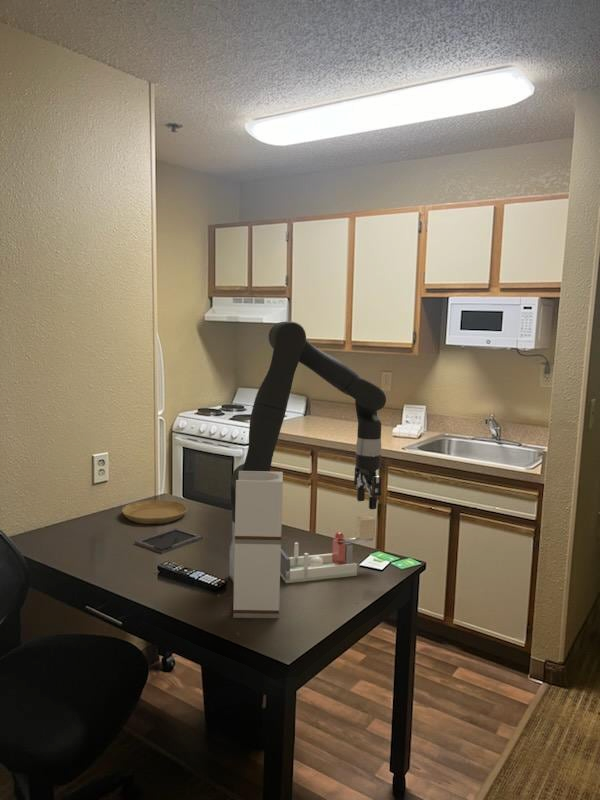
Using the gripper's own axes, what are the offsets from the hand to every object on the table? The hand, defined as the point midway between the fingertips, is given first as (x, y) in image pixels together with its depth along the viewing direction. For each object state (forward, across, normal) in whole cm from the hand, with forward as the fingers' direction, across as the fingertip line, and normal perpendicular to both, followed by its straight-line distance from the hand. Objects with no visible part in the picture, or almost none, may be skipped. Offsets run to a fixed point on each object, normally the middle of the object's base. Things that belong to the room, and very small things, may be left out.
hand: (366, 504), depth 185 cm
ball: (+17, 0, -16) cm, 23 cm away
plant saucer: (+20, -66, -57) cm, 89 cm away
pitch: (+20, 0, -16) cm, 25 cm away
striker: (+18, 0, -4) cm, 18 cm away
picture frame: (+20, -37, -55) cm, 69 cm away
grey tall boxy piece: (+20, +18, -39) cm, 47 cm away
